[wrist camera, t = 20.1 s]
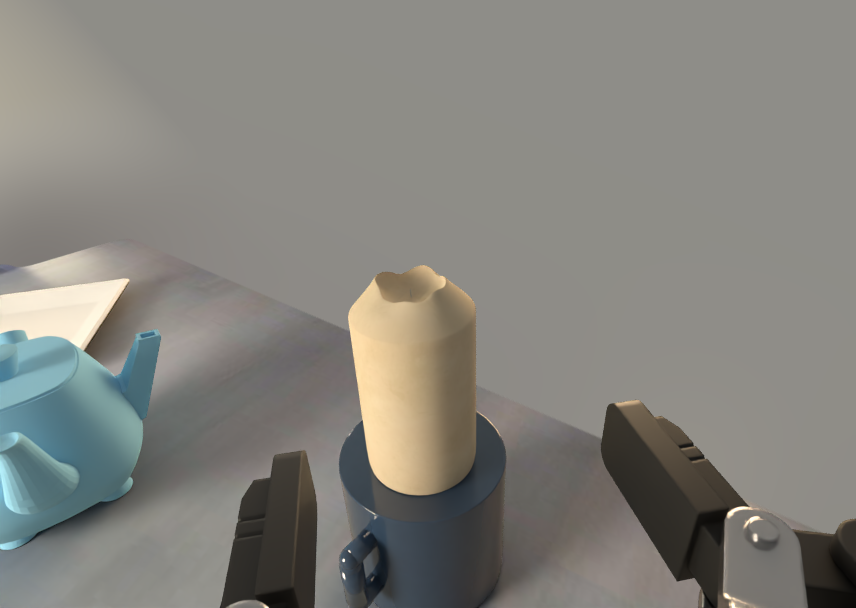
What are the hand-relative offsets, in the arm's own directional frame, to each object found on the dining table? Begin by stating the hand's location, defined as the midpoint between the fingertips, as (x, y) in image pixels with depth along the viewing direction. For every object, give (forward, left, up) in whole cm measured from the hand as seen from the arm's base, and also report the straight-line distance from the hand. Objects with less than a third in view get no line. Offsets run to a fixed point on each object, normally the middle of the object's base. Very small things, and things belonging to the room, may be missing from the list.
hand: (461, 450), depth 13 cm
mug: (-4, -9, -18) cm, 20 cm away
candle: (-4, -9, -10) cm, 14 cm away
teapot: (+14, -28, -18) cm, 36 cm away
